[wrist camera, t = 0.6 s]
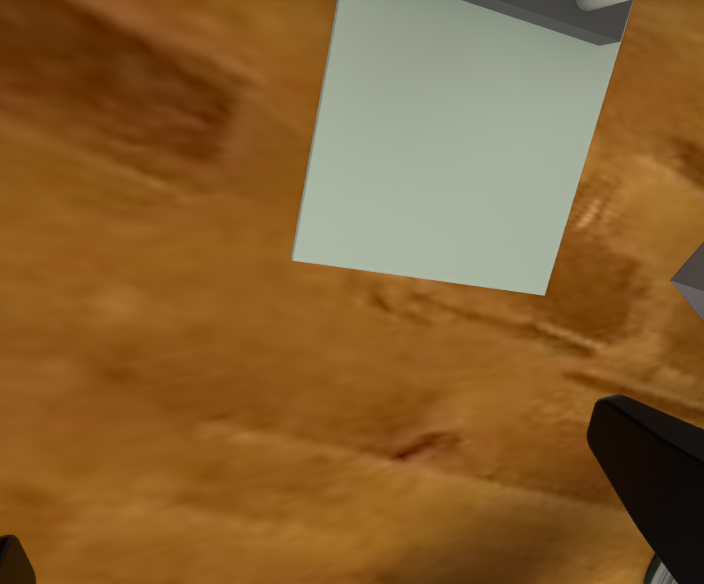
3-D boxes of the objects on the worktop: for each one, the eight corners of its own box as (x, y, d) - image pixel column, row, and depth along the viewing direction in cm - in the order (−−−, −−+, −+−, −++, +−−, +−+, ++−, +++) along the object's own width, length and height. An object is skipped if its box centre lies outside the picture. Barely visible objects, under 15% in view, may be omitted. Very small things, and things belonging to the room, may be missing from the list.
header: (539, 293, 25) (635, 340, 20) (291, 258, 21) (325, 304, 16) (653, -87, 21) (812, -159, 16) (375, -212, 18) (458, -363, 12)
